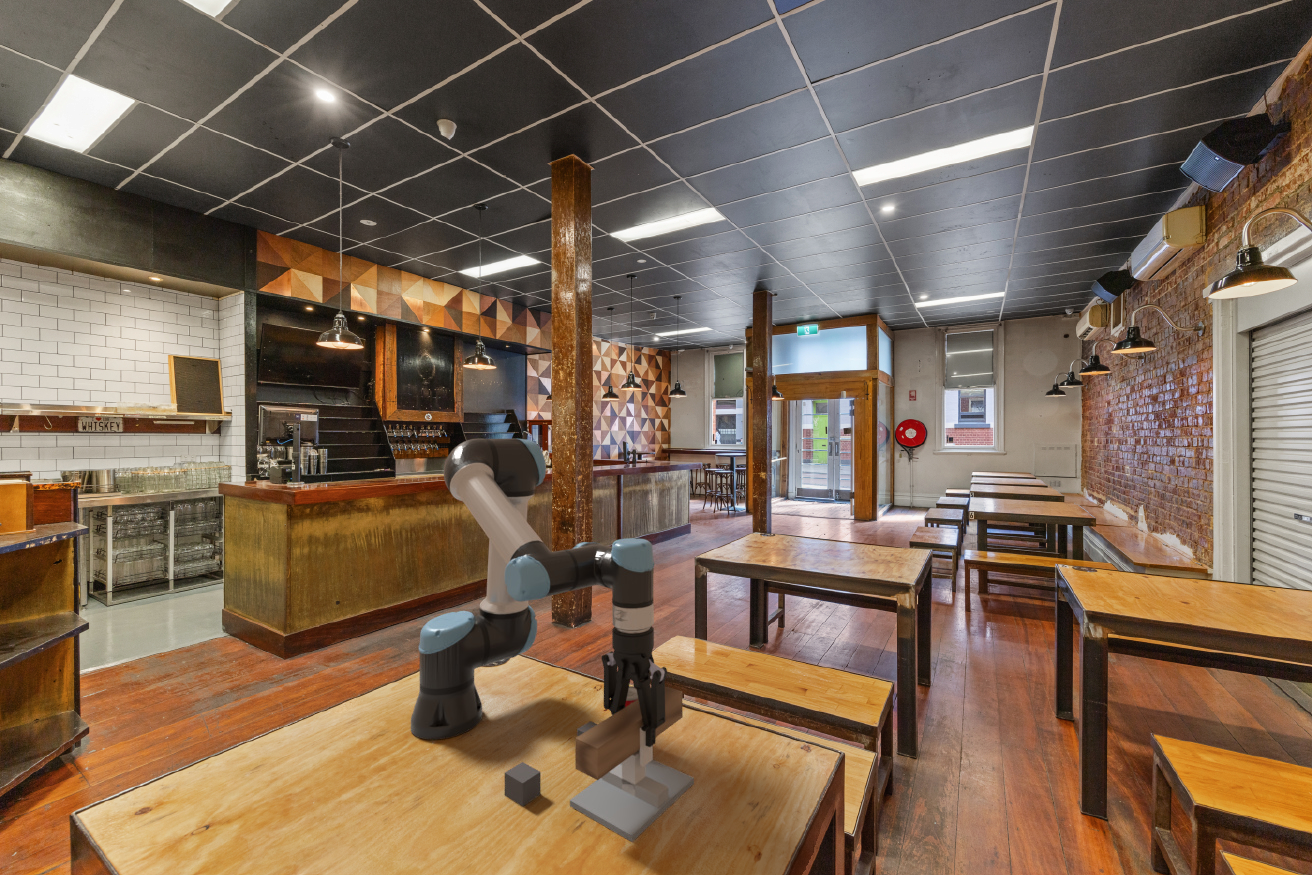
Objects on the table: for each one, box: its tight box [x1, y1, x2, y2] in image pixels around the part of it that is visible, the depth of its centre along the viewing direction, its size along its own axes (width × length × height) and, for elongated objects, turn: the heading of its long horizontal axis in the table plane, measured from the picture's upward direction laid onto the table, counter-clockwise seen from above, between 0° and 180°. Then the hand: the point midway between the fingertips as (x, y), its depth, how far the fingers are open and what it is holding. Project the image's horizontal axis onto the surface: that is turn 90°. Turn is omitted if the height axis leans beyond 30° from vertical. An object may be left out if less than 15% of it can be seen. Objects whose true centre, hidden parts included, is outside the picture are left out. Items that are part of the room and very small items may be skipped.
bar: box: [574, 685, 684, 781], centre depth 94 cm, size 5×24×5 cm, turn 143°
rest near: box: [504, 761, 541, 808], centre depth 94 cm, size 5×4×4 cm
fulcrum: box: [569, 749, 695, 843], centre depth 94 cm, size 14×18×8 cm
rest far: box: [576, 720, 598, 737], centre depth 108 cm, size 5×4×4 cm
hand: (633, 756), depth 94 cm, fingers closed on bar, 5 cm apart
